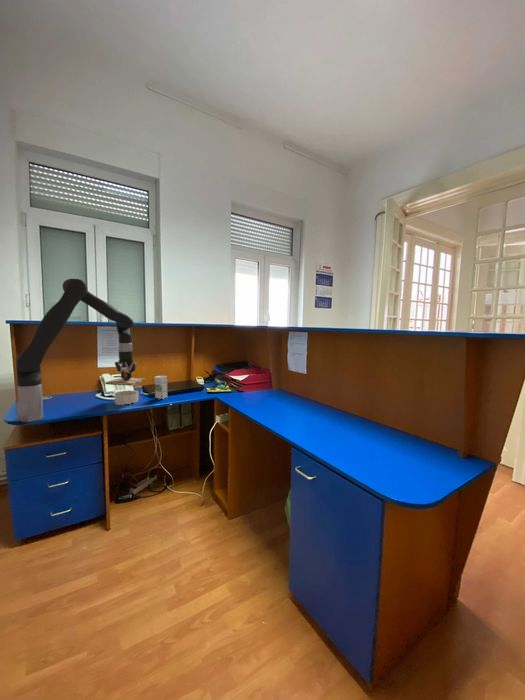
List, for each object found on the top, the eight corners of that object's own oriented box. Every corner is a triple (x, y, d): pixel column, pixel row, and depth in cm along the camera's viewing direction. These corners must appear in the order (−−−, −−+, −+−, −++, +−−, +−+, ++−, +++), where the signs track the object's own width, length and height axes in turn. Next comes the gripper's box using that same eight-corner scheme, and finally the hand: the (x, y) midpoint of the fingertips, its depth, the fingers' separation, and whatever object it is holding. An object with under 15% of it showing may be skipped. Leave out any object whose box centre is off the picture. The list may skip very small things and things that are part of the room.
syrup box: (167, 397, 190) (167, 375, 188) (162, 400, 184) (162, 377, 183) (160, 396, 191) (159, 375, 190) (154, 399, 185) (154, 376, 184)
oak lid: (131, 385, 168) (131, 375, 167) (105, 384, 170) (105, 373, 169) (145, 380, 184) (145, 370, 183) (122, 378, 186) (121, 369, 185)
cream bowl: (130, 405, 171) (130, 396, 170) (110, 404, 173) (109, 394, 172) (142, 399, 183) (142, 391, 183) (123, 398, 185) (123, 389, 185)
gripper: (110, 350, 172) (111, 379, 174) (132, 351, 170) (133, 380, 172) (118, 349, 180) (119, 377, 181) (140, 350, 178) (140, 378, 179)
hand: (126, 378), depth 177 cm, fingers closed on oak lid, 3 cm apart
